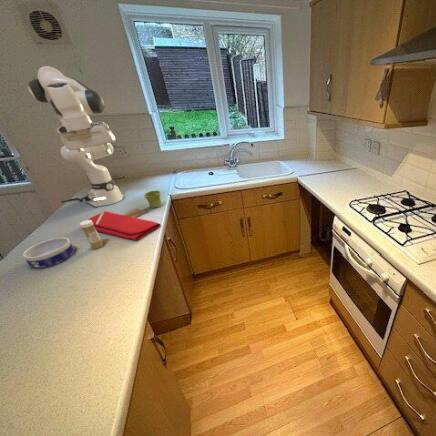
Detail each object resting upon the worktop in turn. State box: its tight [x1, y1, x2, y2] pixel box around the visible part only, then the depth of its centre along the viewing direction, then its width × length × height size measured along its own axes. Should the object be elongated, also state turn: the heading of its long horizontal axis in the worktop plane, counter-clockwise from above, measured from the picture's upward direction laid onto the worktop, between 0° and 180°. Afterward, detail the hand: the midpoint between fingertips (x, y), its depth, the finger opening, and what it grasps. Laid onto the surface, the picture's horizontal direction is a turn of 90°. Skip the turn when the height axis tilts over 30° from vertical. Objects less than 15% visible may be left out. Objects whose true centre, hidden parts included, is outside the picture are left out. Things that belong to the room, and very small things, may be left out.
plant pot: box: [143, 190, 163, 209], centre depth 150 cm, size 9×9×9 cm
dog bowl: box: [22, 237, 76, 270], centre depth 106 cm, size 15×15×6 cm
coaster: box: [123, 208, 147, 218], centre depth 143 cm, size 9×9×1 cm
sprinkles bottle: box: [79, 219, 104, 250], centre depth 111 cm, size 5×5×14 cm
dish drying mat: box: [87, 210, 161, 241], centre depth 129 cm, size 16×41×4 cm, turn 69°
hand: (98, 155), depth 111 cm, fingers open, 8 cm apart
